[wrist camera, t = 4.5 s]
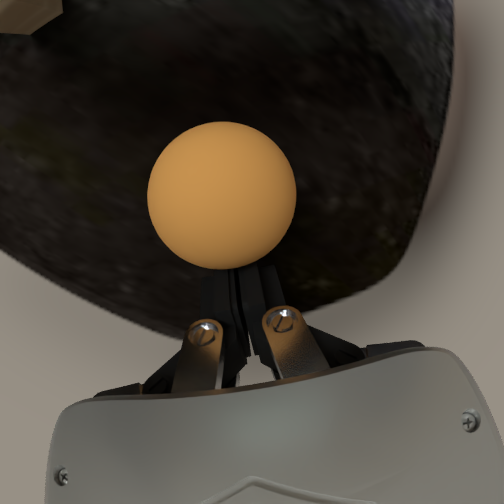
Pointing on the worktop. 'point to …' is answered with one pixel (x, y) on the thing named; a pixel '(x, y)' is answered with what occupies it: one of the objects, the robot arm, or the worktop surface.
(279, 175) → the ball
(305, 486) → the robot arm
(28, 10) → the bridge
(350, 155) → the worktop surface
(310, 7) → the worktop surface
